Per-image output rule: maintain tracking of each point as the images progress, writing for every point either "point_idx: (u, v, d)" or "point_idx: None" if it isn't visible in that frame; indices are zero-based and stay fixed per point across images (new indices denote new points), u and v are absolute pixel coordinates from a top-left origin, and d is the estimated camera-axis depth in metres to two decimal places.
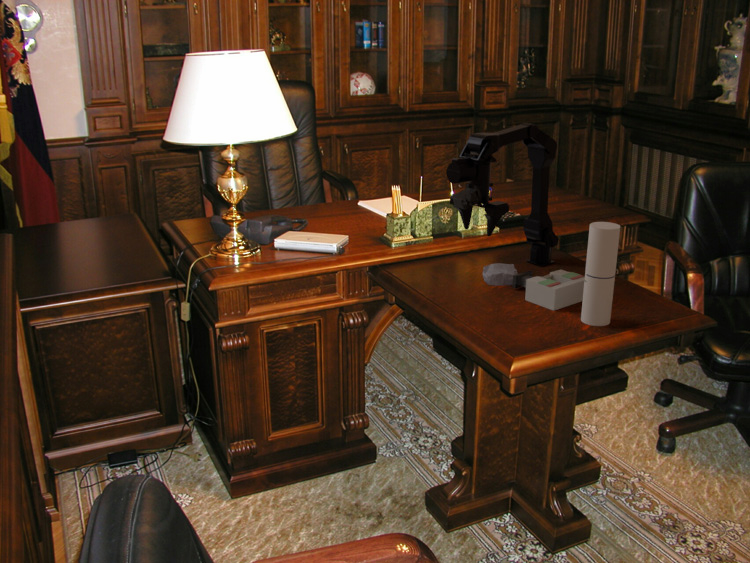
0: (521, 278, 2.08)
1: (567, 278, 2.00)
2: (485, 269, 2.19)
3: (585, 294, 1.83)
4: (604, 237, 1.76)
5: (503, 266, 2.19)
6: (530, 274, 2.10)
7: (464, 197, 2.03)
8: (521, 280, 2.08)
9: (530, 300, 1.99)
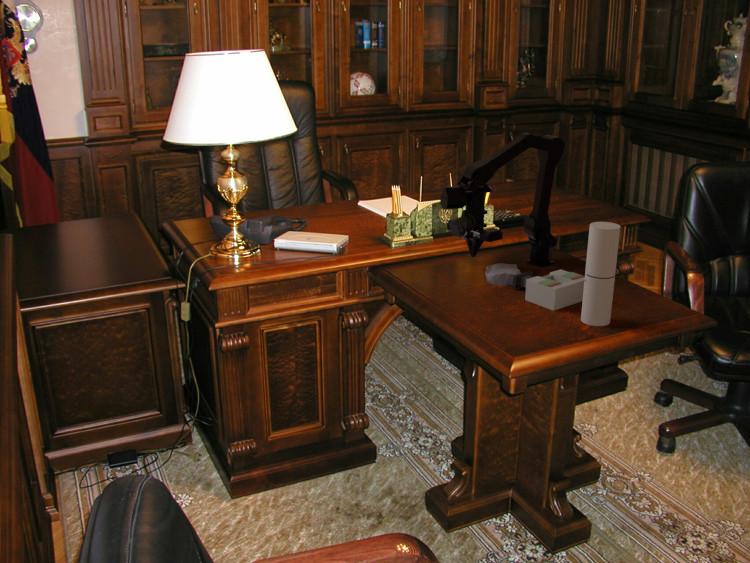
0: (521, 278, 2.08)
1: (567, 278, 2.00)
2: (488, 269, 2.19)
3: (585, 294, 1.83)
4: (604, 237, 1.76)
5: (506, 266, 2.19)
6: (530, 274, 2.10)
7: (460, 224, 2.16)
8: (521, 280, 2.08)
9: (530, 300, 1.99)
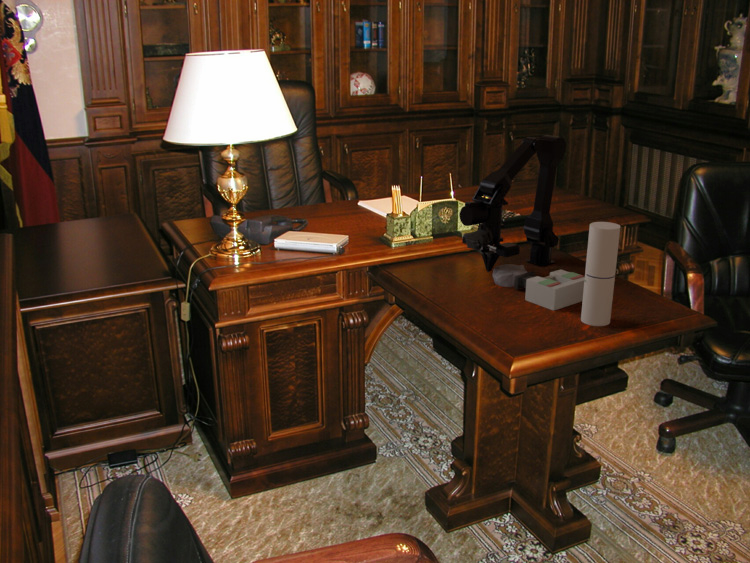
0: (523, 279, 2.07)
1: (567, 278, 2.00)
2: (495, 270, 2.18)
3: (585, 294, 1.83)
4: (604, 237, 1.76)
5: (513, 267, 2.18)
6: (532, 275, 2.10)
7: (476, 239, 2.11)
8: (523, 281, 2.08)
9: (530, 300, 1.99)
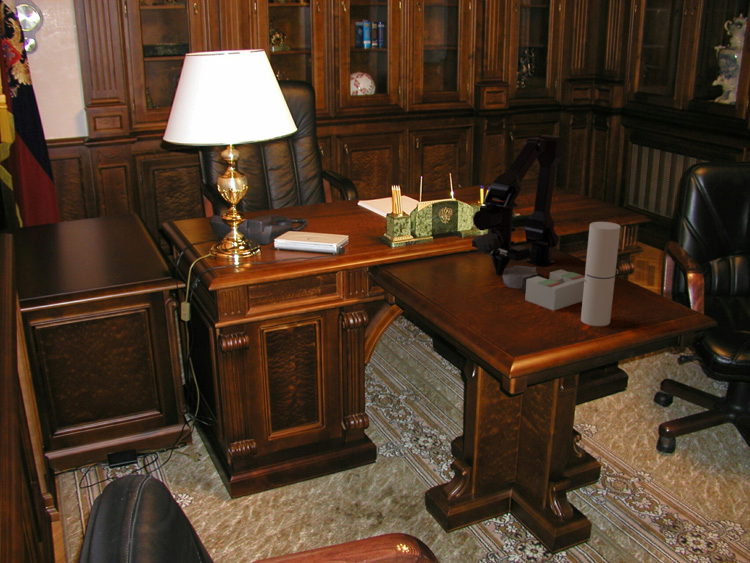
0: None
1: (567, 278, 2.00)
2: (506, 271, 2.17)
3: (585, 294, 1.83)
4: (604, 237, 1.76)
5: (524, 269, 2.16)
6: None
7: (487, 242, 2.08)
8: None
9: (530, 300, 1.99)
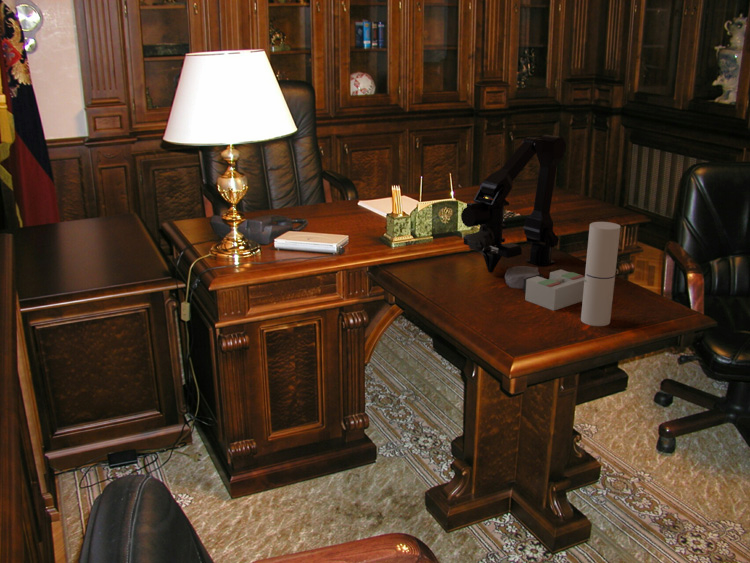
0: None
1: (567, 278, 2.00)
2: (508, 271, 2.17)
3: (585, 294, 1.83)
4: (604, 237, 1.76)
5: (526, 269, 2.16)
6: None
7: (478, 240, 2.11)
8: None
9: (530, 300, 1.99)
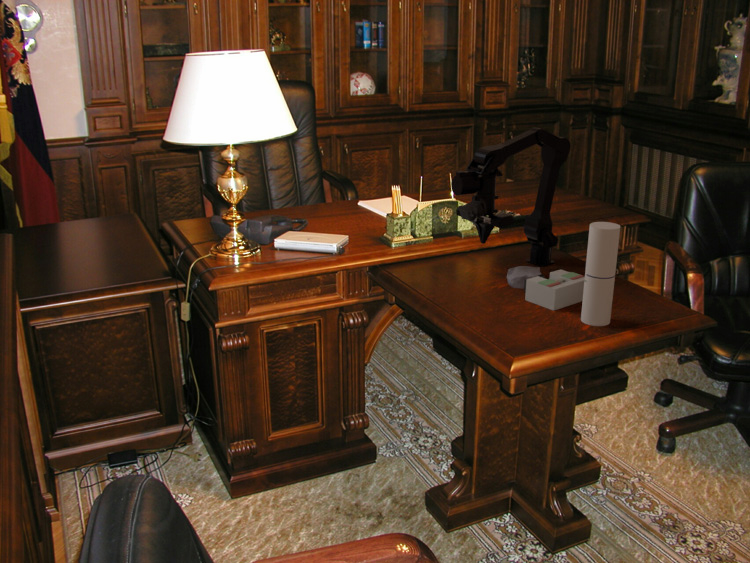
0: None
1: (567, 278, 2.00)
2: (510, 271, 2.17)
3: (585, 294, 1.83)
4: (604, 237, 1.76)
5: (528, 269, 2.16)
6: None
7: (470, 209, 2.10)
8: None
9: (530, 300, 1.99)
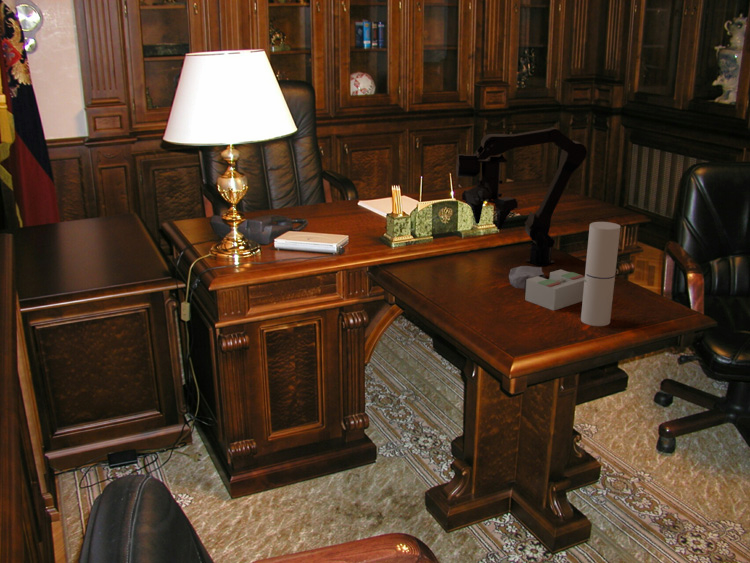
0: None
1: (567, 278, 2.00)
2: (512, 271, 2.17)
3: (585, 294, 1.83)
4: (604, 237, 1.76)
5: (530, 269, 2.16)
6: None
7: (476, 193, 2.19)
8: None
9: (530, 300, 1.99)
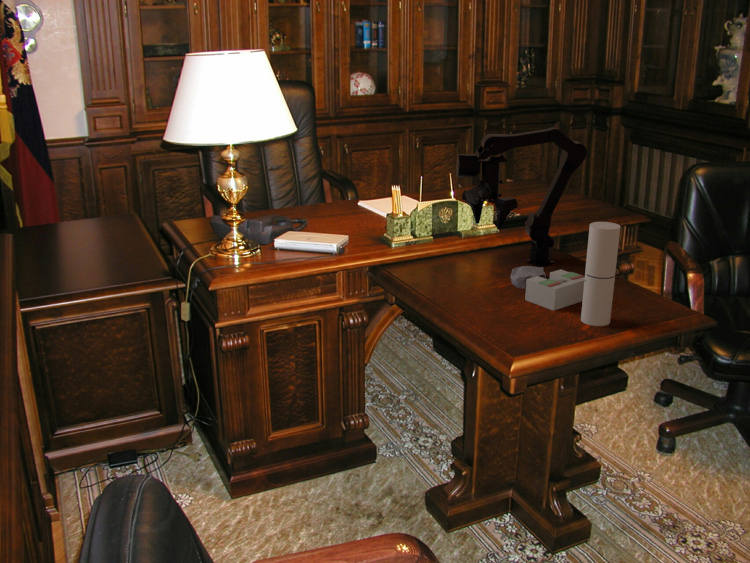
0: None
1: (567, 278, 2.00)
2: (513, 271, 2.16)
3: (585, 294, 1.83)
4: (604, 237, 1.76)
5: (532, 269, 2.16)
6: None
7: (476, 193, 2.19)
8: None
9: (530, 300, 1.99)
